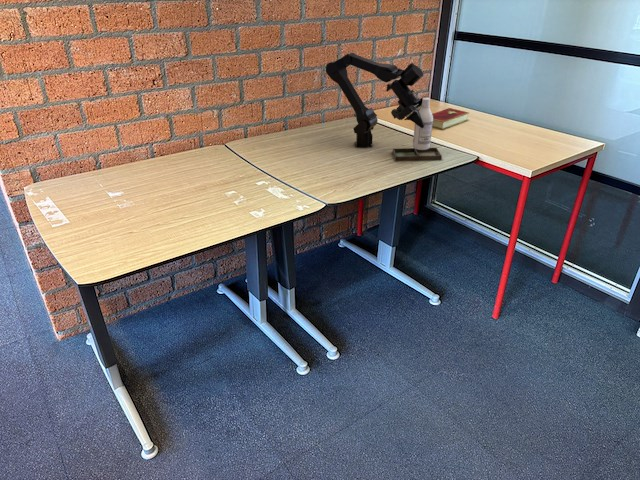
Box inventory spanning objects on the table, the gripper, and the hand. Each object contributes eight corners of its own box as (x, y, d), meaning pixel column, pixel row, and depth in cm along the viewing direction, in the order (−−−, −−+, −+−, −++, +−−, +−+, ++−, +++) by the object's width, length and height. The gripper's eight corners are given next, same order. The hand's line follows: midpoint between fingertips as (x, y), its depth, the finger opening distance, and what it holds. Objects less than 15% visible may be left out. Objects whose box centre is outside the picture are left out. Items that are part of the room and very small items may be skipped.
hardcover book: (422, 124, 237) (423, 115, 235) (448, 115, 249) (448, 107, 247) (442, 130, 229) (443, 121, 227) (468, 120, 241) (469, 111, 239)
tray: (395, 161, 197) (396, 156, 196) (392, 152, 205) (392, 148, 204) (441, 159, 197) (441, 155, 196) (436, 151, 205) (436, 147, 205)
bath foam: (433, 148, 199) (439, 98, 188) (421, 151, 195) (426, 101, 185) (420, 143, 203) (426, 95, 193) (409, 146, 200) (413, 97, 190)
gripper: (399, 100, 205) (421, 130, 206) (379, 111, 192) (402, 143, 193) (418, 83, 198) (441, 114, 198) (399, 93, 184) (423, 127, 185)
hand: (426, 125), depth 194 cm, fingers closed on bath foam, 7 cm apart
